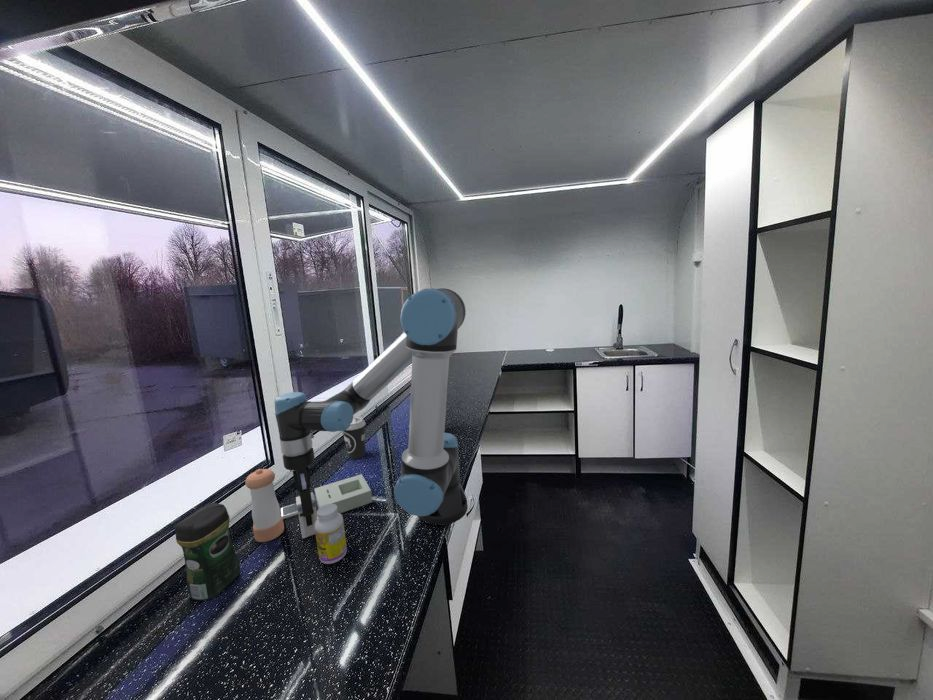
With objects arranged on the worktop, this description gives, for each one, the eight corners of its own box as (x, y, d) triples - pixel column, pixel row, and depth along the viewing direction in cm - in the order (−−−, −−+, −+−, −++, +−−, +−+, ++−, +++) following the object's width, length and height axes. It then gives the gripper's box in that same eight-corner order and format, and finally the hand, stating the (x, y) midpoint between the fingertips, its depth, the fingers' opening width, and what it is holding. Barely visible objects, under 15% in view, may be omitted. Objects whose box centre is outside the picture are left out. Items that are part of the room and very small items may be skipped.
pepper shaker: (251, 545, 94) (238, 479, 90) (259, 527, 100) (248, 465, 97) (280, 538, 95) (270, 473, 92) (286, 522, 102) (277, 461, 99)
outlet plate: (321, 519, 102) (319, 507, 102) (315, 499, 113) (314, 488, 112) (372, 502, 110) (371, 490, 109) (362, 484, 120) (361, 473, 119)
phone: (314, 508, 108) (314, 505, 108) (281, 519, 104) (281, 516, 103) (312, 501, 112) (312, 497, 112) (281, 511, 108) (280, 507, 108)
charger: (319, 532, 97) (315, 499, 95) (302, 538, 95) (296, 505, 93) (317, 523, 101) (312, 491, 99) (300, 529, 99) (295, 497, 97)
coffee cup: (365, 460, 137) (360, 424, 135) (340, 461, 138) (336, 425, 135) (371, 449, 147) (368, 415, 144) (349, 450, 147) (345, 416, 145)
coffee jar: (220, 566, 87) (207, 497, 83) (247, 570, 85) (234, 500, 82) (181, 600, 77) (164, 524, 74) (209, 605, 75) (193, 528, 72)
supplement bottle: (315, 555, 89) (308, 508, 86) (341, 541, 93) (335, 497, 91) (324, 570, 83) (317, 521, 81) (351, 555, 88) (345, 509, 85)
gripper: (317, 458, 88) (329, 541, 92) (309, 436, 103) (319, 508, 107) (283, 467, 84) (297, 553, 88) (280, 443, 99) (292, 517, 103)
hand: (309, 528), depth 98 cm, fingers closed on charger, 4 cm apart
